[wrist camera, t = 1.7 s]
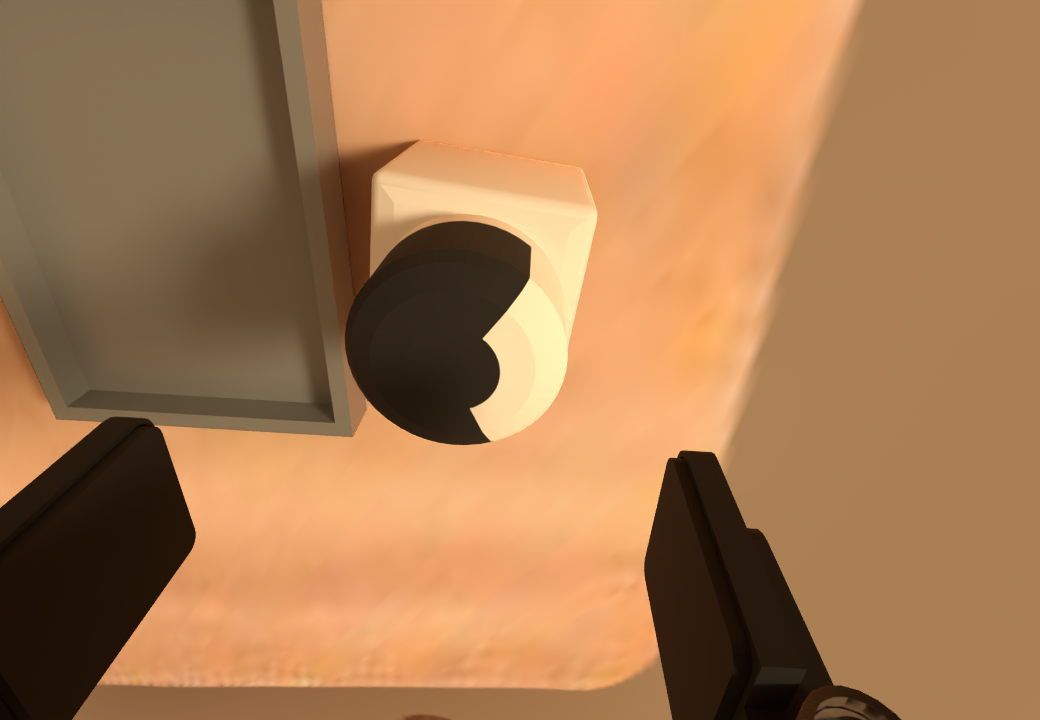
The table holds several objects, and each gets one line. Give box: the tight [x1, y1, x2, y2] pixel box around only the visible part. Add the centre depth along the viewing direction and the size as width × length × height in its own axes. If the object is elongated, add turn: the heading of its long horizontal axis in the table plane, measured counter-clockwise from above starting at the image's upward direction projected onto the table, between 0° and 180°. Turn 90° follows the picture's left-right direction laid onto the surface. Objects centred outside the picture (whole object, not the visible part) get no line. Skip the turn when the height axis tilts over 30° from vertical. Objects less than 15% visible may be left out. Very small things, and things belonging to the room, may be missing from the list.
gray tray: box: [0, 0, 366, 437], centre depth 24 cm, size 20×15×2 cm
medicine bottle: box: [345, 140, 597, 445], centre depth 19 cm, size 7×7×12 cm
